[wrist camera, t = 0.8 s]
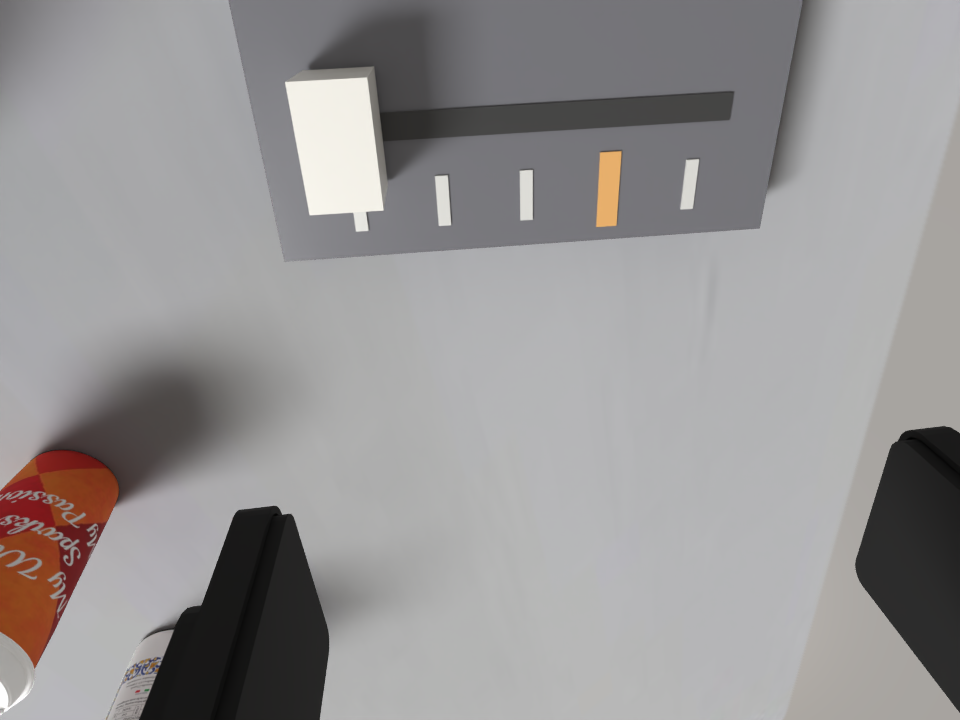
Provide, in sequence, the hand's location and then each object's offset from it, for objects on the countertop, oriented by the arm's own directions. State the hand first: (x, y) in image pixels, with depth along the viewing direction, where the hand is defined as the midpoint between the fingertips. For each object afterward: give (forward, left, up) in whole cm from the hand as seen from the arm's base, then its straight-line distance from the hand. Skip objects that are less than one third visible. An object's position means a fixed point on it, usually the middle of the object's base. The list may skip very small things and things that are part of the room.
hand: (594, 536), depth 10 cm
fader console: (-2, +2, -26) cm, 26 cm away
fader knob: (-2, -6, -22) cm, 23 cm away
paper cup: (+19, -27, -26) cm, 42 cm away
